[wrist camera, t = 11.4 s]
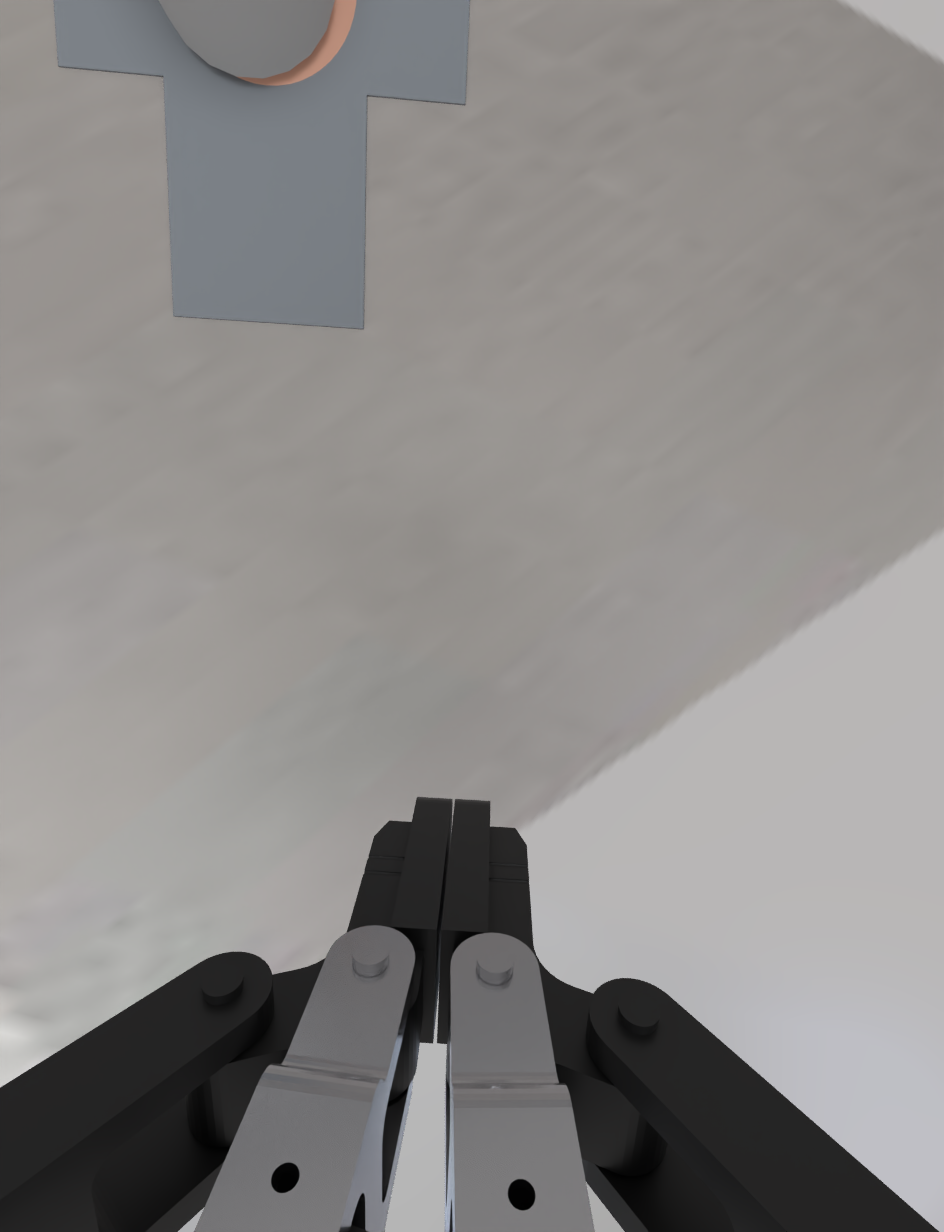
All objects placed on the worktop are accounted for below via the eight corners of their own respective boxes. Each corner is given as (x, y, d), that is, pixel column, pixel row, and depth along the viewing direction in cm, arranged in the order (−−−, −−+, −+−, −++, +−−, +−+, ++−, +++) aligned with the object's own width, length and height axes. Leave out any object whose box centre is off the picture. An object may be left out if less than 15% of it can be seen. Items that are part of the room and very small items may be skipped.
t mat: (473, -100, 29) (474, -106, 29) (455, 336, 33) (455, 334, 33) (46, -150, 28) (42, -157, 27) (78, 310, 32) (75, 309, 31)
